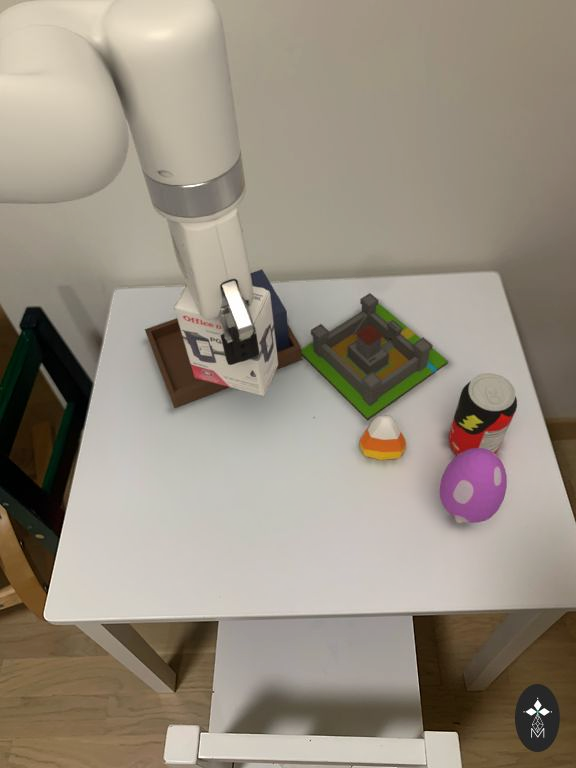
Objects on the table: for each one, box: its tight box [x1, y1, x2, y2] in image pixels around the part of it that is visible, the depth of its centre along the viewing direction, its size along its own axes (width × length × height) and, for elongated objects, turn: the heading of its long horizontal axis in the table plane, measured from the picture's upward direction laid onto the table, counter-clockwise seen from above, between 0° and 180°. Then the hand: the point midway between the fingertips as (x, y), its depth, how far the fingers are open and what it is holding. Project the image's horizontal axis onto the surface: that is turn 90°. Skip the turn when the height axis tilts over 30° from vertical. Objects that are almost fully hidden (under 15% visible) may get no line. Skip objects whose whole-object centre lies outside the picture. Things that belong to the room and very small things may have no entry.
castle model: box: [301, 292, 449, 421], centre depth 83 cm, size 15×15×7 cm
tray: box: [144, 317, 303, 409], centre depth 87 cm, size 20×14×3 cm
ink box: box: [173, 283, 278, 397], centre depth 61 cm, size 8×5×12 cm, turn 71°
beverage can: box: [448, 372, 518, 456], centre depth 72 cm, size 6×6×12 cm
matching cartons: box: [250, 269, 290, 352], centre depth 86 cm, size 8×9×8 cm
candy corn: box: [358, 414, 407, 461], centre depth 74 cm, size 6×3×8 cm, turn 83°
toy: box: [438, 448, 508, 524], centre depth 65 cm, size 7×7×15 cm
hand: (227, 323), depth 60 cm, fingers closed on ink box, 9 cm apart
